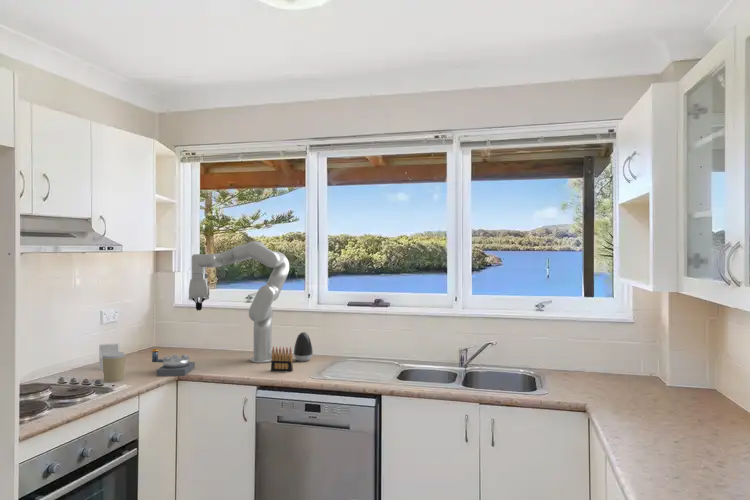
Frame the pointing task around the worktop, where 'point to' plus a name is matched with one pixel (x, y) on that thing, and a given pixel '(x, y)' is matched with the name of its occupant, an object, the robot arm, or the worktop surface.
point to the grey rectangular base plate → (175, 370)
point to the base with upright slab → (106, 351)
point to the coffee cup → (113, 366)
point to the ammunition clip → (281, 360)
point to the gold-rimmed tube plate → (171, 360)
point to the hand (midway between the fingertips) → (198, 310)
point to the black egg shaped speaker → (303, 347)
